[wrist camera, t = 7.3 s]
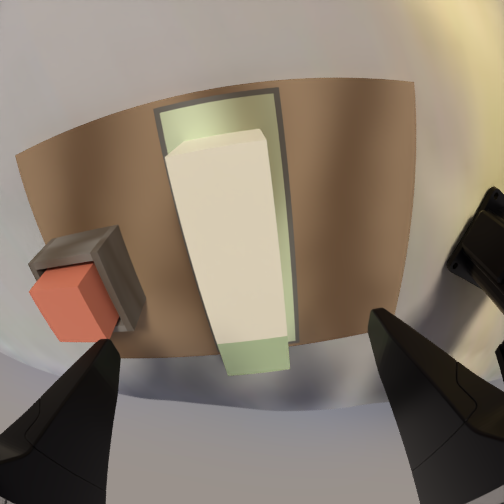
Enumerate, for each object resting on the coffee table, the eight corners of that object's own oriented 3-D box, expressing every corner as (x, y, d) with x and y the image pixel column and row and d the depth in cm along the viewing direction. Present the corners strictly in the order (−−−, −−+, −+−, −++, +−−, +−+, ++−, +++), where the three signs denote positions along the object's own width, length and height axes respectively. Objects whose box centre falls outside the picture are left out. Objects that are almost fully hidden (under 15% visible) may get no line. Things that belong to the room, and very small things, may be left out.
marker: (183, 141, 11) (164, 157, 9) (259, 128, 11) (266, 139, 8) (229, 332, 17) (228, 376, 14) (283, 326, 17) (290, 369, 14)
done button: (98, 255, 12) (77, 286, 10) (122, 308, 14) (108, 341, 12) (51, 263, 12) (28, 291, 10) (76, 311, 14) (59, 341, 12)
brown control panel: (405, 82, 11) (447, 84, 8) (387, 319, 18) (405, 355, 15) (23, 151, 11) (-16, 170, 8) (111, 350, 19) (98, 386, 16)
